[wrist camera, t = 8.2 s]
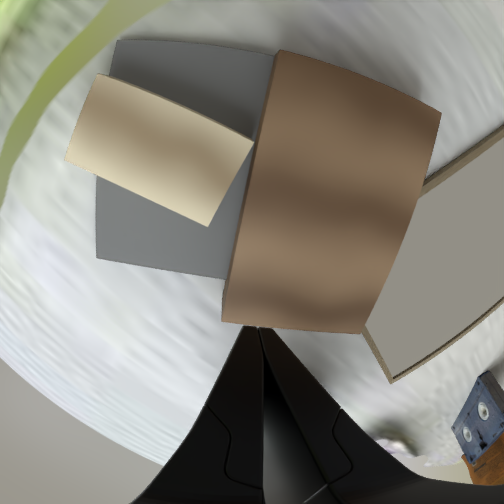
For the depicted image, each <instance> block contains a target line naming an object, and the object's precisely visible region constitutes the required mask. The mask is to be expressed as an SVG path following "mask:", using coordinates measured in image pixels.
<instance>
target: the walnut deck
mask: <svg viewBox="0 0 504 504" xmlns="http://www.w3.org/2000/svg"><path fill="white" fill-rule="evenodd" d="M441 114H442V113H441V112H439V111H437V110H436V109H434V108H432V107H430V106H428V105H426V104H424V103H423V102H421V101H419V100H417V99H415V98H413V97H411V96H409V95H407V94H404V93H402V92H400V91H398V90H396V89H394V88H391V87H389V86H387V85H385V84H382V83H380V82H378V81H375V80H373V79H370V78H368V77H365V76H363V75H360V74H358V73H355V72H352V71H350V70H347V69H344V68H341V67H338V66H335V65H332V64H329V63H326V62H323V61H320V60H317V59H313V58H310V57H306V56H303V55H299V54H295V53H292V52H288V51H284V50H279V51H278V53H277V54H276V55H275V56H274V61H273V65H272V69H271V73H270V78H269V82H268V86H267V91H266V95H265V100H264V104H263V108H262V113H261V117H260V122H259V126H258V131H257V135H256V140H255V144H254V149H253V154H252V158H251V163H250V168H249V172H248V177H247V182H246V186H245V191H244V196H243V201H242V206H241V210H240V215H239V220H238V225H237V230H236V235H235V240H234V245H233V250H232V255H231V260H230V265H229V270H228V275H227V280H226V281H225V286H224V292H223V297H222V321H221V322H228V323H236V324H244V325H253V326H262V327H271V328H281V329H292V330H304V331H317V332H331V333H348V334H360V333H361V331H362V329H363V327H364V326H365V324H366V322H367V320H368V318H369V316H370V314H371V312H372V310H373V308H374V306H375V303H376V301H377V299H378V297H379V295H380V293H381V291H382V289H383V286H384V284H385V282H386V280H387V278H388V275H389V273H390V271H391V268H392V266H393V264H394V261H395V259H396V257H397V254H398V252H399V249H400V247H401V244H402V242H403V239H404V237H405V234H406V231H407V229H408V226H409V223H410V221H411V218H412V215H413V212H414V209H415V207H416V204H417V201H418V198H419V195H420V192H421V189H422V185H423V182H424V179H425V176H426V172H427V169H428V166H429V162H430V159H431V155H432V151H433V148H434V144H435V140H436V136H437V132H438V128H439V123H440V119H441Z"/></svg>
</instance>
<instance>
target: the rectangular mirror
mask: <svg viewBox="0 0 504 504" xmlns="http://www.w3.org/2000/svg"><path fill="white" fill-rule="evenodd" d="M503 303H504V125H503V126H501V127H500V128H498V129H497V130H496V131H494V132H493V133H492V134H490V135H489V136H487V137H486V138H485V139H483V140H482V141H480V142H479V143H478V144H476V145H475V146H473V147H472V148H471V149H469V150H468V151H466V152H465V153H464V154H462V155H461V156H459V157H458V158H456V159H455V160H454V161H452V162H451V163H449V164H448V165H446V166H445V167H443V168H442V169H440V170H439V171H438V172H436V173H435V174H433V175H432V176H430V177H429V178H427V179H426V180H424V182H423V185H422V189H421V192H420V195H419V198H418V201H417V204H416V207H415V209H414V212H413V215H412V218H411V221H410V223H409V226H408V229H407V231H406V234H405V237H404V239H403V242H402V244H401V247H400V249H399V252H398V254H397V257H396V259H395V261H394V264H393V266H392V268H391V271H390V273H389V275H388V278H387V280H386V282H385V284H384V286H383V289H382V291H381V293H380V295H379V297H378V299H377V301H376V303H375V306H374V308H373V310H372V312H371V314H370V316H369V318H368V320H367V322H366V324H365V326H364V327H363V329H362V331H361V332H362V334H363V336H364V338H365V339H366V341H367V343H368V345H369V347H370V348H371V350H372V352H373V354H374V355H375V357H376V359H377V361H378V363H379V364H380V366H381V368H382V370H383V372H384V374H385V375H386V377H387V379H388V381H389V383H390V384H392V383H394V382H396V381H397V380H399V379H401V378H402V377H404V376H406V375H407V374H409V373H411V372H412V371H414V370H415V369H417V368H419V367H420V366H422V365H423V364H425V363H426V362H428V361H429V360H431V359H432V358H434V357H435V356H437V355H438V354H440V353H441V352H442V351H444V350H445V349H447V348H448V347H449V346H451V345H452V344H454V343H455V342H456V341H458V340H459V339H460V338H462V337H463V336H464V335H466V334H467V333H468V332H469V331H471V330H472V329H473V328H474V327H476V326H477V325H478V324H479V323H481V322H482V321H483V320H484V319H485V318H487V317H488V316H489V315H490V314H491V313H492V312H494V311H495V310H496V309H497V308H498V307H499V306H500V305H502V304H503Z"/></svg>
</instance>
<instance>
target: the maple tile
mask: <svg viewBox="0 0 504 504" xmlns="http://www.w3.org/2000/svg"><path fill="white" fill-rule="evenodd" d="M253 144H254V141H253V140H252V139H251V138H249V137H247V136H245V135H243V134H241V133H239V132H237V131H235V130H233V129H231V128H229V127H227V126H225V125H223V124H221V123H219V122H217V121H215V120H213V119H211V118H209V117H207V116H205V115H203V114H201V113H198V112H196V111H194V110H192V109H190V108H188V107H185V106H183V105H181V104H179V103H176V102H174V101H172V100H170V99H167V98H165V97H163V96H160V95H158V94H155V93H153V92H151V91H148V90H146V89H143V88H141V87H138V86H136V85H133V84H130V83H128V82H125V81H123V80H120V79H117V78H114V77H112V76H107V75H103V74H97V76H96V78H95V80H94V82H93V85H92V87H91V89H90V91H89V94H88V96H87V98H86V101H85V103H84V105H83V108H82V110H81V113H80V116H79V118H78V121H77V123H76V126H75V129H74V132H73V135H72V137H71V140H70V143H69V146H68V149H67V153H66V156H65V159H64V160H65V161H68V162H70V163H72V164H74V165H76V166H78V167H80V168H83V169H85V170H87V171H89V172H91V173H93V174H95V175H98V176H100V177H102V178H104V179H106V180H108V181H110V182H113V183H115V184H117V185H119V186H121V187H123V188H125V189H128V190H130V191H132V192H134V193H136V194H138V195H140V196H143V197H145V198H147V199H149V200H151V201H153V202H155V203H157V204H160V205H162V206H164V207H166V208H168V209H170V210H172V211H174V212H177V213H179V214H181V215H183V216H185V217H187V218H189V219H191V220H194V221H196V222H198V223H200V224H202V225H204V226H206V227H208V226H209V224H210V222H211V220H212V218H213V216H214V214H215V212H216V211H217V209H218V207H219V205H220V203H221V201H222V199H223V198H224V196H225V194H226V192H227V190H228V188H229V187H230V185H231V183H232V181H233V179H234V177H235V176H236V174H237V172H238V170H239V168H240V167H241V165H242V163H243V161H244V160H245V158H246V156H247V154H248V153H249V151H250V149H251V147H252V146H253Z"/></svg>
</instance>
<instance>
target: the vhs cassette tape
mask: <svg viewBox="0 0 504 504" xmlns="http://www.w3.org/2000/svg"><path fill="white" fill-rule="evenodd" d="M451 429H452V430H453V432H454V434H455V435H456V439H457V440H458V443H459V444H460V446H461V448H462V451H463V452H464V455H465V457H466V459H467V461H468V463H469V464H471V463H473V462H474V461H476V460H477V459H479V457H480V456H482V455H483V454H484V453H485V452H486V451H487V450H488V448H489V447H490V446H491V445H492V444H493V443H494V442H495V441H496V440H497V439H498V438H499V436H500V435H501V434H502V433H503V432H504V391H503V389H502V388H501V386H500V385H499V384H498V382H497V381H496V379H495V378H494V376H493V375H492V374H491V372H490V371H487V372H485V373H484V374H482V375H481V376H479V377H478V378H477V380H476V382H475V385H474V387H473V389H472V391H471V393H470V395H469V397H468V398H467V400H466V402H465V404H464V406H463V408H462V410H461V412H460V413H459V415H458V417H457V419H456V420H455V422H454V424H453V426H452V427H451Z"/></svg>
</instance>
